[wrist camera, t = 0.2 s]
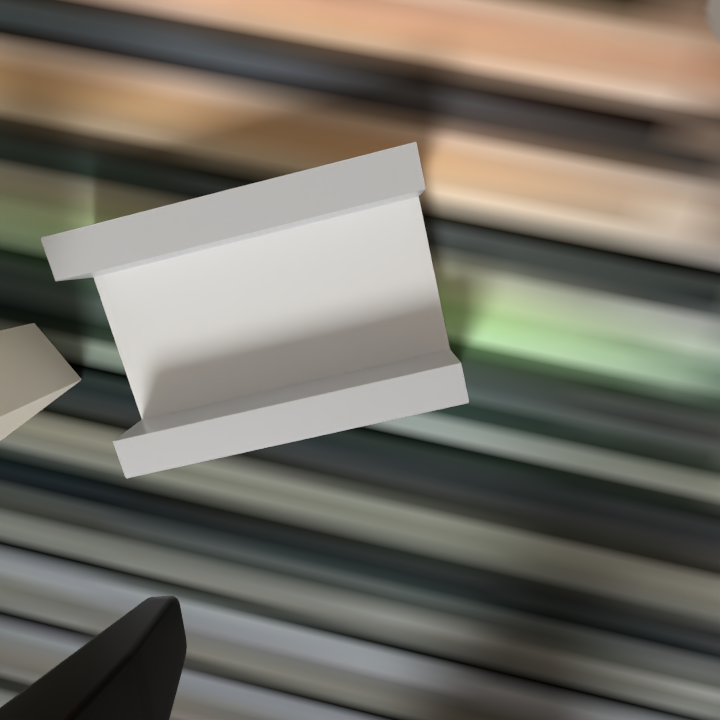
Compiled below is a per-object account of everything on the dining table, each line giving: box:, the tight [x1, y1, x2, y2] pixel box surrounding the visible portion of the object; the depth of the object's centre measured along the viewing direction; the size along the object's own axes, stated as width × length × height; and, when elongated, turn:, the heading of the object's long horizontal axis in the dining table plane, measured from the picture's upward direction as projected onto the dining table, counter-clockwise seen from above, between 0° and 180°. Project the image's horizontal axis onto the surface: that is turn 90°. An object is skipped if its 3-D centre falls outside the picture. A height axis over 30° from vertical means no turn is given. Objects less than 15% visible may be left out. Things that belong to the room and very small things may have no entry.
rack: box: [40, 142, 469, 478], centre depth 20 cm, size 13×9×4 cm
